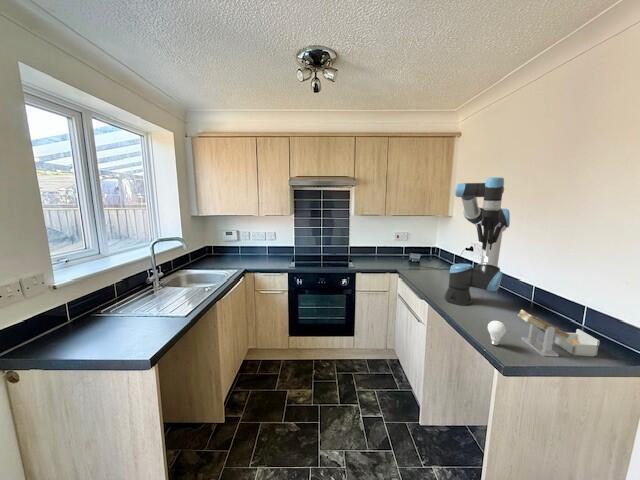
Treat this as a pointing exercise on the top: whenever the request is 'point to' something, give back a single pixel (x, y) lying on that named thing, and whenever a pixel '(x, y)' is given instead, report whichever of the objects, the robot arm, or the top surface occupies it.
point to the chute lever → (541, 324)
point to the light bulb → (496, 331)
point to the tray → (579, 344)
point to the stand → (540, 347)
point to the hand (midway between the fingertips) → (485, 256)
